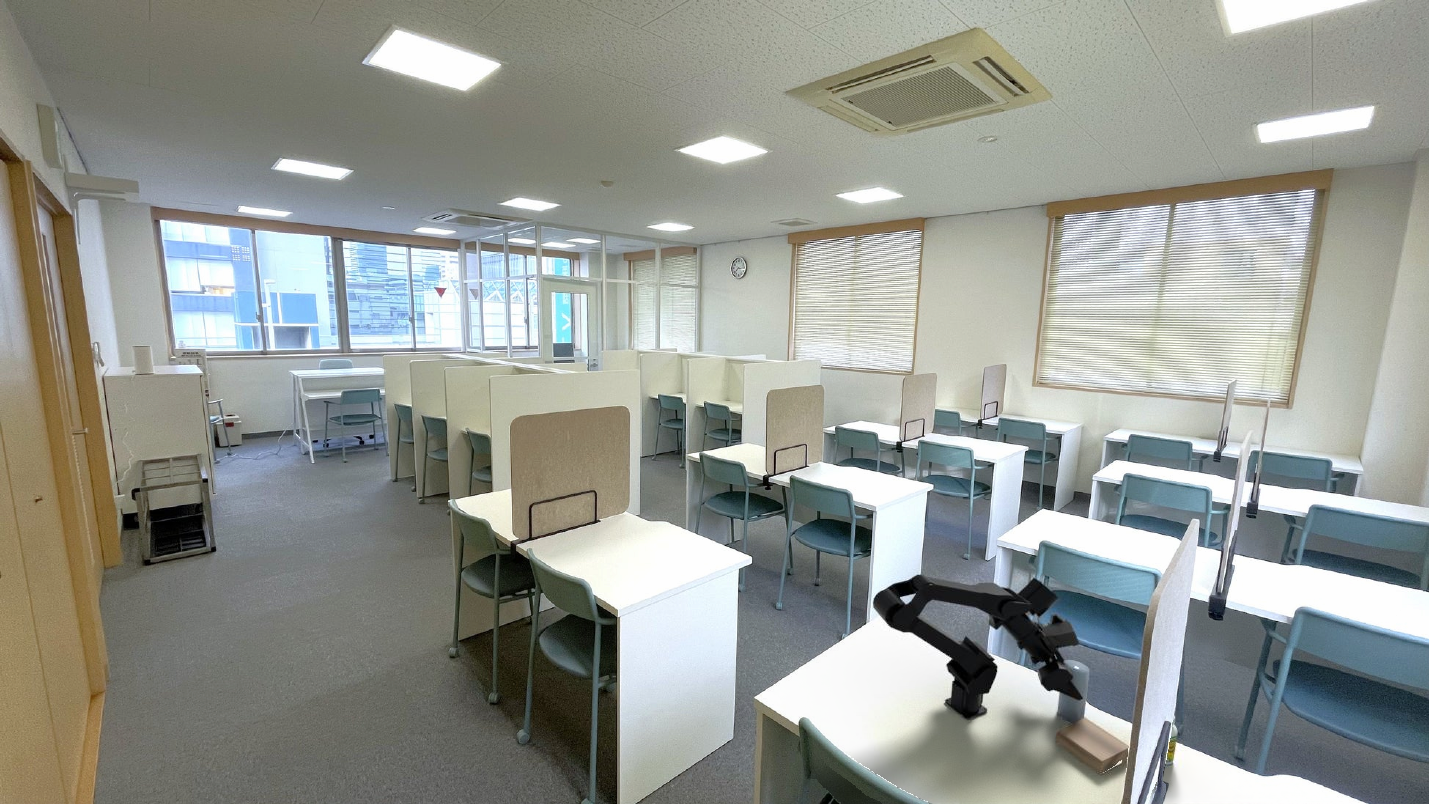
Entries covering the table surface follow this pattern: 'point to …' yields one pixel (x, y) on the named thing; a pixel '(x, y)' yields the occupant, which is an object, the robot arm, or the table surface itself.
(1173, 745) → the supplement bottle
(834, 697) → the table surface
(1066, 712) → the slate bottle
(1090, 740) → the walnut base
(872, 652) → the table surface
